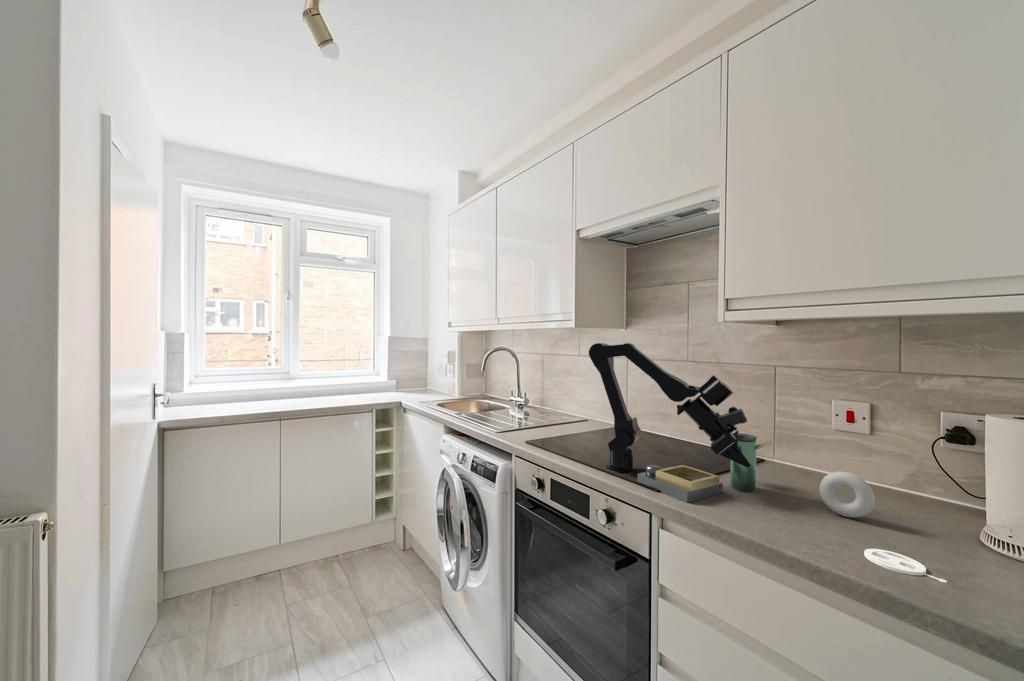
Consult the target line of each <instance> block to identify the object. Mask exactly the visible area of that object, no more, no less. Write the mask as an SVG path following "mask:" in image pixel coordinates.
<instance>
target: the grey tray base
mask: <svg viewBox="0 0 1024 681" xmlns="http://www.w3.org/2000/svg"><path fill="white" fill-rule="evenodd" d="M636 479H637V481H636V482H639V483H643V484H645V485H648V486H651V487H654V488H657V489H659V490H660V491H661V492H660V493H662V494H665V495H666V496H669V497H672V498H675V499H677V500H679V501H682V502H685V503H692V502H694V501H697V500H702V499H705V498H709V497H712V496H717V495H719V494H723V493H724V483H723V482H721V481H720V476H719V475H717V474H713V473H710V472H707V471H704V470H700V469H697V468H694V467H691V466H689V465H688V466H687V465H684V464H681V465H676V466H668V467H664V468H662V467H661V466H659V465H657V464H656V465H655V464H648V465H645V471H644V472H639V473H637V478H636ZM639 483H638V484H639Z"/></svg>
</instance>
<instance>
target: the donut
mask: <svg viewBox="0 0 1024 681" xmlns="http://www.w3.org/2000/svg"><path fill="white" fill-rule="evenodd" d="M840 488H848V489H849V490H851V491H852V492H853V493H854V496H855V497H854V499H853V500H852V501H846V500H844V499H842V498H841V497H840V495H839V493H838V490H839V489H840ZM818 489H819V494H820V498H821V499H822V501H823V503H824V505H826V506H827V508H828V509H830V510H831V511H833V513H836V514H838V515H840V516H842V517H845V518H853V519H855V518H863V517H864V516H867V515H868V514H870V513H871V511H872V510H873V509H874V507H875V504H876V503H875V502H876V497H875V493H874V491H873V489H872V488H871V486H870V485H869V484H868V483H867V482H866V480H864V479H863V478H862V477H860V476H859V475H857V474H855V473H852V472H848V471H840V470H839V471H838V470H837V471H832V472H829V473H828V474H826V475H825V476H824V477H823V478H822V480H821V481H820V484H819V488H818Z"/></svg>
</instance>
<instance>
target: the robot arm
mask: <svg viewBox="0 0 1024 681" xmlns="http://www.w3.org/2000/svg"><path fill="white" fill-rule="evenodd" d="M588 356H589V359H590V361H591V362H592V365H593V366H594V368H595V369H596V371H598V372H599V374H600V377H601V381H602V384H603V386H604V389H605V390H604V391H605V393H606V395H607V398H608V402H609V405H610V407H611V408H610V410H611V411H612V414H613V429H614V435H615V437H614V438H613V439H612V440H610V441H609V442H608V443H607V446H608V449H609V464H606V466H605V467H606V468H607V467H608V469H610V470H612V469H613V471H615V470H616V471H615V472H617V471H619V472H618V473H620V472H622V473H627V472H631V470H632V471H635V470H636V469H637V468H636V467H634V464H633V463H634V456H633V449H631V448H632V446H633V444H635V442H637V441H638V439H639V438H640V432H641V431H642V430H641V429H642V428H640V426H639V423H638V418H637V417H633V418H632V417H631V415H630V414H629V412H628V409H627V406H626V403H625V400H624V396H623V393H622V391H621V390H622V389H621V388H620V384H619V382H618V379H617V376H616V372H615V368H614V366H615V362H614V361H615V360H614V358H616V357H617V358H618V357H625V358H627V359H628V360H629V361H630V362H631V363H633V364H634V365H635V366H636V367H637V368H638V369H640V370H641V371H642V372H644V374H646V375H647V376H648V377H649V378H651V379H652V380H653V381H654V382H655V383H656V384H657V385H658V387H659V388H660V389H661V390H662V392H663V393H664V394H665V395H666V397H667V398H668V399H669V400H670V401H672V402H676V403H681V402H683V401H685V400H686V399H687V400H686V401H685V402H683V403H682V404H677V405H676V407H677V408H676V409H677V410H676V411H677V412H676V415H677V416H680V415H681V414H682V413H686V415H687V416H688V417H689V418H690V419H691V420H692V421H693V422H694V423H695V424H696V426H698V428H697V429H699V431H703V432H704V434H706V435H707V436H708V437H709V440H710V441H711V443H710V449H711V451H712V452H713V453H714V454H715V455H716V456H717V455H718V456H722V457H724V458H726V459H728V460H730V461H731V460H732V461H734V462H737V463H739V464H741V465H743V466H745V467H747V468H748V467H750V466H751V464H750V463H749V462H748V460H747V459H746V457H745V456H744V455H743V453H742V452H741V451H740V449H739V448H738V439H736V437H735V436H734V435H733V434H734V433H740V432H739V430H738V427H737V426H736V425H740V424H741V425H742V424H745V423H747V422H748V418H747V416H746V414H745V412H744V410H743V408H739V409H738V408H737V407H736V406H731V407H729V408H728V412H726V413H724V414H722V415H721V414H720V413H719V412H718V411H714V410H712V408H711V407H712V406H716V407H718V406H720V405H721V404H722V403H723V402H724V401H726V400H727V399H728V398H730V397H731V396H732V395H733V394H734V391H733V390H732V389H731V388H730V387H729V386H728V385H727V384H726V383H725V382H723V381H722V380H721V379H720V378H718V377H717V376H716V375H714V374H712V375H711V377H710V378H708V380H707V381H706V382H705V383H704V384H702V385H701V386H700V387H699V386H695V385H689V384H688V383H687V382H686V381H685V380H683V379H681V378H680V377H678V376H676V375H673V374H672V373H669V372H667V371H666V370H665V369H663V368H662V367H661V366H660V365H658V364H657V363H655V361H653V360H652V359H650V358H649V357H648V356H647V355H646V354H645V353H643V352H642V351H641V350H639V349H638V348H637V347H636V345H634V344H633V343H630V342H625V343H623V344H612V345H611V344H610V345H609V344H607V343H605V342H601V343H600V342H597V343H594V344H592V345H591V346H590V347H589V350H588ZM699 393H700V394H699ZM698 394H699V395H698ZM697 395H698V396H697ZM695 396H697V397H695ZM694 397H695V398H694ZM691 398H694V399H693V400H692V399H691ZM626 471H627V472H626Z"/></svg>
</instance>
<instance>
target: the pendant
mask: <svg viewBox="0 0 1024 681" xmlns="http://www.w3.org/2000/svg"><path fill="white" fill-rule="evenodd" d="M863 554H864V557H865V558H866V559H867V560H868V561H870V562H871V563H873V564H876V565H877V566H880V567H882V568H884V569H887V570H890V571H892V572H897V573H900V574H904V575H912V576H927V577H930V578H933V579H936V580H937V581H939V582H941V583H945V584H946V583H948V581H947V580H946V579H944V578H938V577H935V576H933V575H930V574H927V568H926V566H925V565H924V564H922V563H920V562H919V561H917V560H915V559H913V558H911V557H909V556H906V555H904V554H901V553H897V552H895V551H890V550H886V549H881V548H880V549H879V548H866V549H864V552H863Z"/></svg>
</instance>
